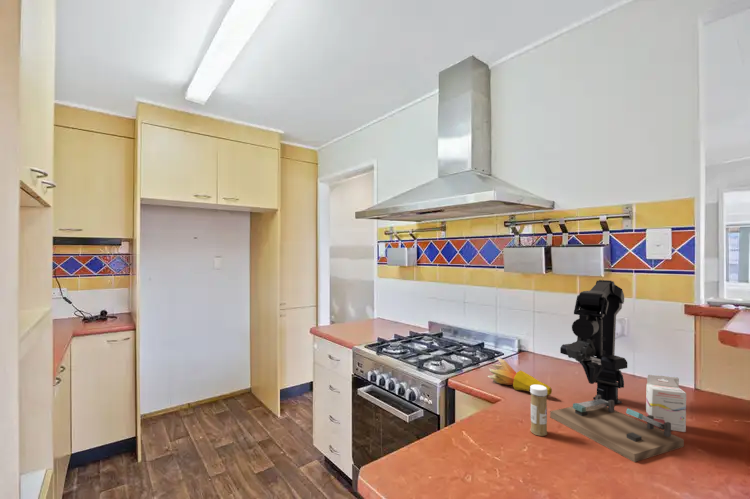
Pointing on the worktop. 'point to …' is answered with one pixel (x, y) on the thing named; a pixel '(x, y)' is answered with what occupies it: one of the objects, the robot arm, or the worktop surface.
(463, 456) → the worktop surface
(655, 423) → the bar
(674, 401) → the ink cartridge box
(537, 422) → the sprinkles bottle
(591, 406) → the bar
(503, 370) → the torch
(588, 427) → the jig board
